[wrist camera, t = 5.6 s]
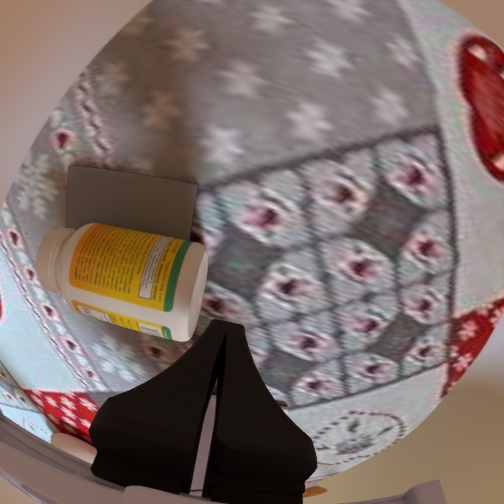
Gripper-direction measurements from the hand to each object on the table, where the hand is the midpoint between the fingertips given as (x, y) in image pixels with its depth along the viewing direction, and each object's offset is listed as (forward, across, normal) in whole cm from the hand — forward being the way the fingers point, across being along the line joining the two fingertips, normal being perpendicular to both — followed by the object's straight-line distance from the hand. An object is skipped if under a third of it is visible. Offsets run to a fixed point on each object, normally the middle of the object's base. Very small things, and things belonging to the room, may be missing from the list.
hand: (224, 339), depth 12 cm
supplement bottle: (+3, +2, 0) cm, 4 cm away
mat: (+6, +8, 0) cm, 10 cm away
